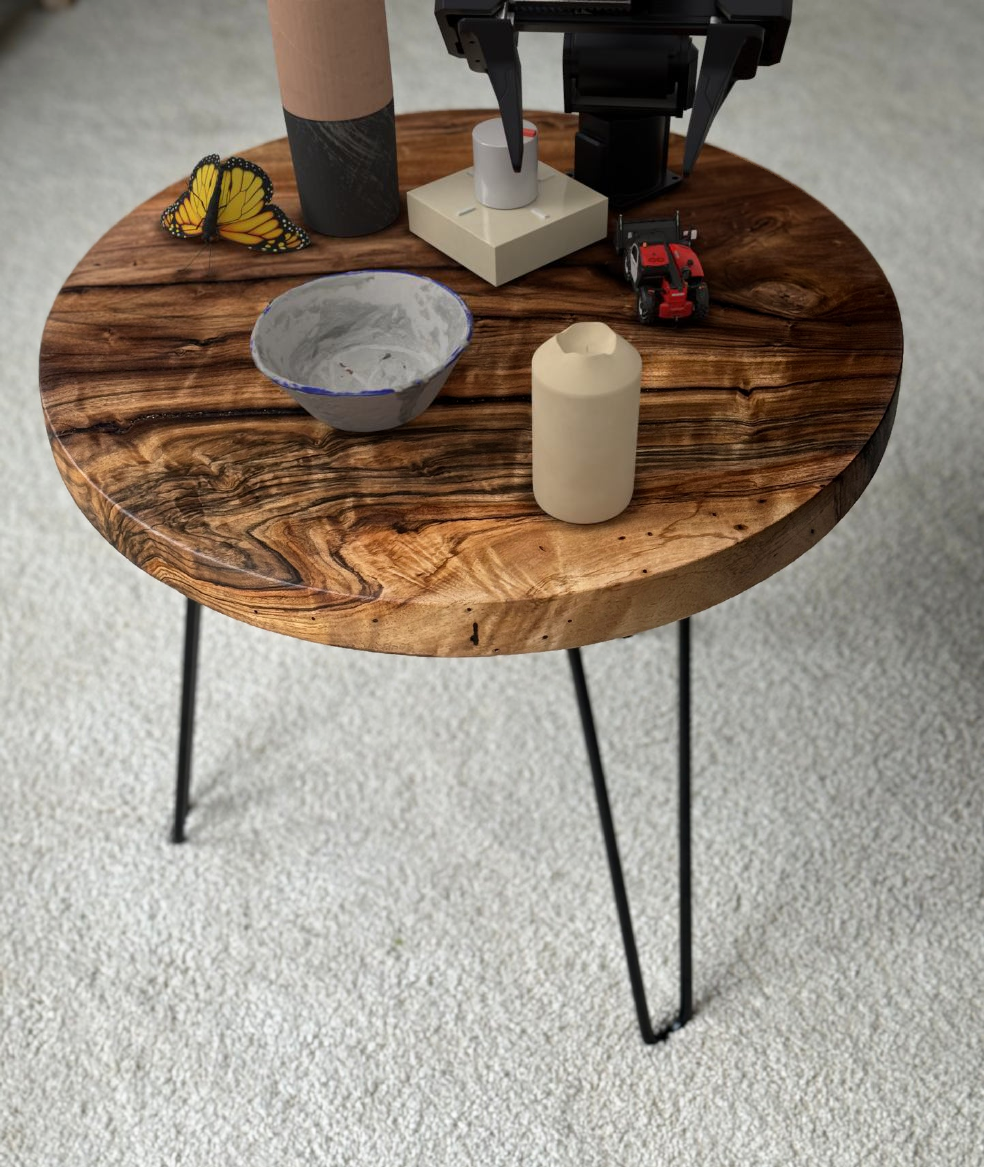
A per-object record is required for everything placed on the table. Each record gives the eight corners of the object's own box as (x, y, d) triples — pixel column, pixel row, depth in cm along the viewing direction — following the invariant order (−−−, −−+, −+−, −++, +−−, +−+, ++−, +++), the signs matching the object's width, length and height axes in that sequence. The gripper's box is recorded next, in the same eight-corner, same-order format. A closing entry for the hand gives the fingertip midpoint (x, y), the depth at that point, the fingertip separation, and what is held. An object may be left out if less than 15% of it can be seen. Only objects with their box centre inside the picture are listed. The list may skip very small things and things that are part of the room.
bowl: (477, 328, 79) (474, 261, 76) (475, 456, 70) (472, 387, 67) (276, 333, 79) (264, 267, 76) (249, 461, 70) (234, 393, 67)
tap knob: (465, 203, 85) (461, 136, 81) (488, 175, 87) (486, 108, 84) (524, 214, 83) (524, 146, 80) (547, 184, 86) (547, 117, 83)
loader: (610, 243, 86) (613, 180, 83) (675, 238, 86) (681, 175, 83) (642, 340, 78) (646, 274, 74) (713, 335, 78) (721, 268, 75)
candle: (626, 531, 65) (636, 375, 58) (524, 519, 66) (522, 364, 59) (638, 465, 69) (649, 311, 62) (542, 454, 70) (542, 302, 63)
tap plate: (517, 186, 93) (516, 145, 90) (607, 237, 87) (608, 195, 85) (409, 230, 88) (405, 189, 86) (496, 287, 83) (494, 245, 80)
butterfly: (266, 285, 82) (295, 305, 87) (295, 156, 82) (323, 184, 87) (110, 257, 85) (146, 278, 90) (138, 133, 85) (173, 161, 90)
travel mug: (414, 191, 92) (391, -102, 78) (388, 243, 87) (358, -62, 73) (316, 184, 94) (276, -106, 79) (285, 235, 88) (236, -66, 74)
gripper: (427, -209, 60) (403, 112, 60) (819, -209, 58) (793, 124, 58) (460, -85, 71) (440, 185, 71) (790, -81, 69) (768, 198, 69)
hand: (600, 173), depth 67 cm, fingers open, 9 cm apart
